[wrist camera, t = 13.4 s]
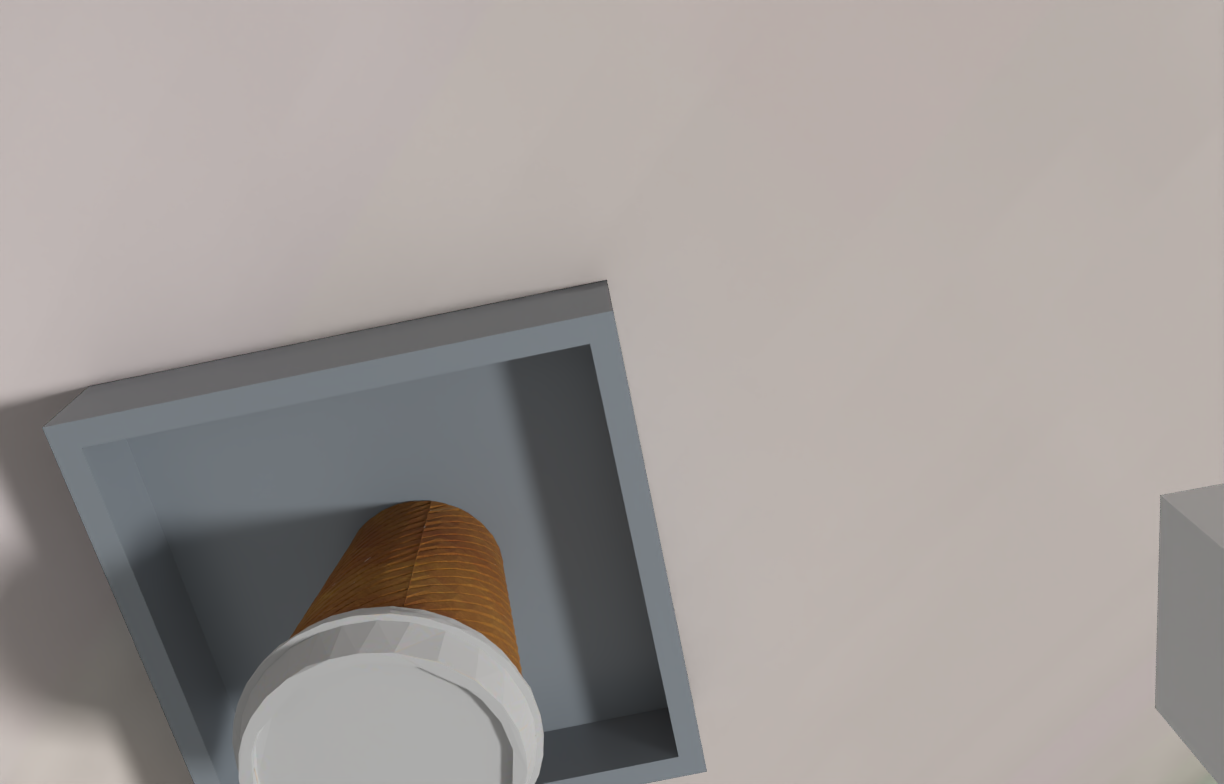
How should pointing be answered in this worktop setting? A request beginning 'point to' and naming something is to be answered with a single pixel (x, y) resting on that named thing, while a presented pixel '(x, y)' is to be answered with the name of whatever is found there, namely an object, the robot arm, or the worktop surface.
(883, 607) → the worktop surface
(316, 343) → the bin
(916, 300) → the worktop surface
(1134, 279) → the worktop surface
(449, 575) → the disposable coffee cup
